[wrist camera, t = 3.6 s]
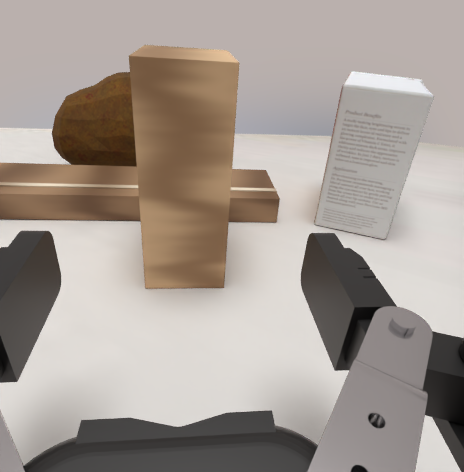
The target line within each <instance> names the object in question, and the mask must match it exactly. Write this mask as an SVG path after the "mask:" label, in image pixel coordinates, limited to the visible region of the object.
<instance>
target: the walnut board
mask: <svg viewBox="0 0 464 472" xmlns="http://www.w3.org/2000/svg"><path fill="white" fill-rule="evenodd" d="M279 200H280V198H279V196H278V194H277V191H276V189H275V188H274V186H273V184H272V182H271V180H270V178H269V176H268V173H267V171H266V170H242V169H232V176H231V191H230V205H229V220H228V222H276V221H277V214H278V207H279ZM0 219H48V220H137V221H141V219H140V205H139V191H138V177H137V167H134V166H97V165H61V164H25V163H0Z"/></svg>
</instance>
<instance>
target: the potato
mask: <svg viewBox="0 0 464 472" xmlns="http://www.w3.org/2000/svg"><path fill="white" fill-rule="evenodd" d="M52 136H53V141H54V147H55V149H56V150H57V152H58V153H59V154H60V156H61V157H62V158H63V159H65V160H66V161H68V162H69V163H70V164H72V165H97V166H134V167H137V163H136V149H135V135H134V120H133V106H132V92H131V78H130V72H128V73H127V72H124V73H123V72H122V73H116V74H114V75H111V76H108V77H106V78H105V79H103V80H102V81H100V82H99V83H97V84H96V85H94V86H91V87H88V88H85V89H82V90H79V91H77V92H75V93H73V94H70V95H68V96H67V97H66V98H65V100H64V102H63V103H62V105H61V107H60V109H59V110H58V112H57V114H56V116H55V121H54V126H53V131H52Z"/></svg>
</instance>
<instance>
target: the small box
mask: <svg viewBox="0 0 464 472" xmlns="http://www.w3.org/2000/svg"><path fill="white" fill-rule="evenodd" d="M433 98H434V96H433V94H432V93H430V92H429V91H428V90H427V88H426V87H425V86H424V84H423V81H422V80H420V79H413V78H404V77H396V76H386V75H379V74H370V73H361V72H351V73H350V74H349V76H348V78H347V79H346V81H345V83H344V84H343V86H342V90H341V95H340V100H339V104H338V109H337V114H336V119H335V124H334V129H333V134H332V139H331V144H330V149H329V155H328V160H327V164H326V169H325V173H324V178H323V183H322V189H321V194H320V199H319V204H318V209H317V213H316V217H315V221H314V223H315V225H319V226H324V227H329V228H334V229H339V230H343V231H348V232H352V233H356V234H361V235H365V236H370V237H375V238H379V239H386V237H387V235H388V231H389V229H390V226H391V223H392V220H393V217H394V214H395V211H396V208H397V205H398V202H399V199H400V196H401V193H402V190H403V187H404V184H405V181H406V178H407V175H408V172H409V169H410V166H411V163H412V160H413V158H414V155H415V152H416V149H417V146H418V143H419V140H420V137H421V134H422V131H423V128H424V125H425V122H426V119H427V116H428V113H429V110H430V107H431V104H432V101H433Z"/></svg>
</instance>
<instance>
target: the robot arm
mask: <svg viewBox="0 0 464 472" xmlns="http://www.w3.org/2000/svg"><path fill="white" fill-rule="evenodd" d="M60 286H61V272H60V268H59V263H58V259H57V254H56V250H55V245H54V240H53V237H52V234H51V233H50V232H49V231H21V232H19V234H18V235H17V236H16V237H15V239H14V240H13V241H12V243H11V244H10V245H9V246H8V247H1V248H0V383H1V382H17V381H18V379H19V377H20V375H21V373H22V371H23V369H24V366H25V364H26V362H27V360H28V358H29V356H30V354H31V351H32V349H33V347H34V345H35V343H36V341H37V339H38V337H39V334H40V332H41V330H42V328H43V326H44V324H45V322H46V319H47V317H48V315H49V313H50V311H51V309H52V307H53V304H54V302H55V300H56V298H57V296H58V294H59V291H60ZM301 286H302V290H303V293H304V295H305V298H306V300H307V303H308V305H309V308H310V310H311V313H312V315H313V318H314V320H315V323H316V325H317V328H318V330H319V333H320V335H321V338H322V340H323V342H324V345H325V347H326V350H327V352H328V355H329V357H330V360H331V362H332V365H333V367H334V370H335V371H337V370H349V373H348V375H347V378H346V380H345V383H344V385H343V387H342V390H341V392H340V395H339V397H338V399H337V402H336V404H335V407H334V409H333V411H332V414H331V416H330V419H329V421H328V423H327V426H326V428H325V431H324V433H323V435H322V438H321V440H320V443H319V445H316V444H315V443H314V442H312V441H311V440H309V439H308V438H306V437H304V436H303V435H300V434H298V433H296V432H294V431H292V430H289V429H286V428H283V427H279V426H275V424H274V419H273V414H272V411H253V412H233V413H225V414H222V415H218V416H215V417H212V418H209V419H205V420H202V421H199V422H196V423H192V424H189V425H186V426H182V427H173V426H169V425H164V424H159V423H154V422H149V421H144V420H139V419H134V418H117V419H97V420H81V424H80V427H79V431H78V435H77V437H75V438H72V439H69V440H66V441H64V442H62V443H59V444H57V445H55V446H53V447H51V448H50V449H48V450H46V451H44V452H43V453H41V454H40V455H38V456H37V457H35V458H33V459H32V460H31V461H30V462H28V463H27V464H26V465H23V463H22V461H21V458H20V456H19V454H18V451H17V449H16V446H15V444H14V442H13V439H12V437H11V435H10V432H9V430H8V427H7V425H6V423H5V420H4V418H3V416H2V413H1V411H0V472H415V469H416V463H417V457H418V451H419V445H420V440H421V434H422V428H423V422H424V416H425V415H427V416H431V417H432V418H433V419H434V421H435V423H436V425H437V427H438V429H439V431H440V432H441V434H442V436H443V438H444V440H445V442H446V444H447V446H448V447H449V449H450V451H451V453H452V455H453V457H454V459H455V461H456V462H457V464H458V466H459V468H460V470H461V472H464V338H460V337H455V336H451V335H446V334H441V333H437V332H433V331H432V330H431V328H430V326H429V325H428V323H427V322H426V321H425V320H424V319H423V318H421V317H420V316H419V315H417V314H415V313H414V312H412V311H409V310H407V309H404V308H400V307H397V306H396V304H395V303H394V302H393V300H392V299H391V297H390V296H389V295H388V293H387V292H386V290H385V289H384V287H383V286H382V285H381V283H380V282H379V280H378V279H376V276H375V275H374V273H373V272H372V270H370V267H369V266H368V265H367V263H366V262H365V260H364V259H363V257H361V256H360V255H359V254H357V253H356V252H354V251H353V250H352V249H350V248H344V247H343V245H342V244H341V242H340V241H339V239H338V238H337V236H336V235H335V234H334V233H311V234H310V235H309V237H308V241H307V246H306V251H305V256H304V261H303V266H302V271H301Z"/></svg>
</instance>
